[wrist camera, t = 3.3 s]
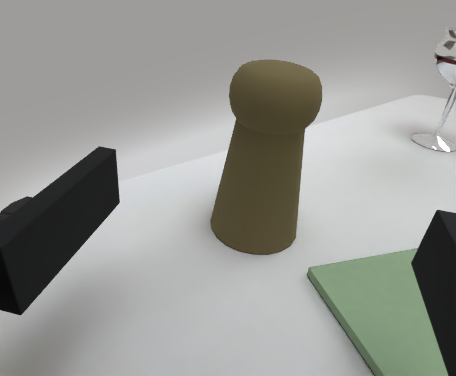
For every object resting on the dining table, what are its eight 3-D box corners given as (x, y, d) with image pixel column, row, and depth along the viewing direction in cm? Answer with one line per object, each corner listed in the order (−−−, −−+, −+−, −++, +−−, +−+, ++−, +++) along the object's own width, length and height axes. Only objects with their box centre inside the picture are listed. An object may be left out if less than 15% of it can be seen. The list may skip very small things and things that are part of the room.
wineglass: (478, 157, 40) (537, 42, 33) (418, 152, 39) (466, 34, 33) (446, 133, 45) (492, 31, 39) (394, 128, 45) (432, 25, 39)
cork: (304, 215, 27) (342, 63, 21) (285, 266, 22) (328, 87, 16) (229, 193, 28) (246, 46, 23) (195, 236, 23) (206, 63, 18)
